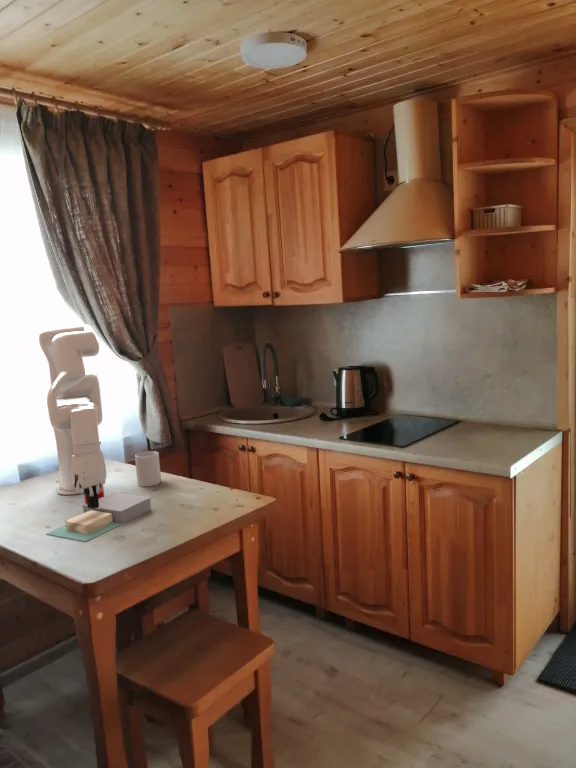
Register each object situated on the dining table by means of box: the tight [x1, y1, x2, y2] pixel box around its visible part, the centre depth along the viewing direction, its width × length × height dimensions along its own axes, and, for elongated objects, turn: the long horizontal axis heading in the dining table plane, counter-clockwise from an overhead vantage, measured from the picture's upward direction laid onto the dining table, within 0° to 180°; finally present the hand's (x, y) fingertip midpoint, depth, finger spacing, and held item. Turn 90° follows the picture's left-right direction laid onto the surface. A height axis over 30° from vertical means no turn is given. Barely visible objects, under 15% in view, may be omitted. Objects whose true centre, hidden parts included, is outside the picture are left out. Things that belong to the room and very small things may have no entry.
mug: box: [134, 450, 162, 488], centre depth 229 cm, size 12×8×11 cm
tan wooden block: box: [64, 510, 113, 534], centre depth 187 cm, size 9×10×3 cm
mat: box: [45, 522, 122, 543], centre depth 185 cm, size 16×14×1 cm
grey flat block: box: [82, 492, 152, 525], centre depth 197 cm, size 16×13×4 cm
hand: (93, 507), depth 188 cm, fingers closed
